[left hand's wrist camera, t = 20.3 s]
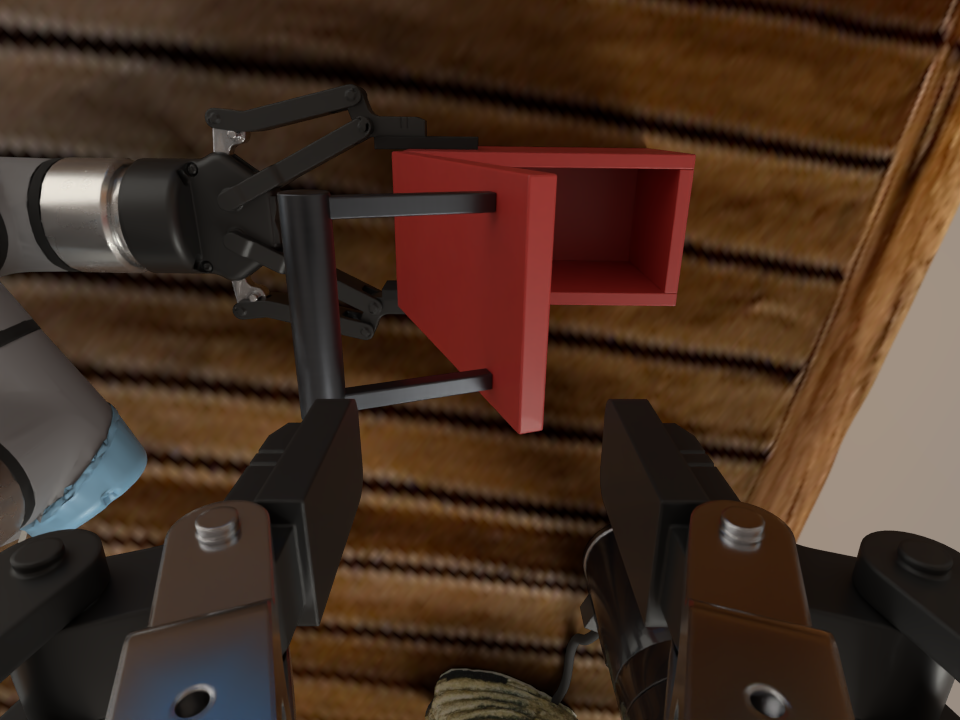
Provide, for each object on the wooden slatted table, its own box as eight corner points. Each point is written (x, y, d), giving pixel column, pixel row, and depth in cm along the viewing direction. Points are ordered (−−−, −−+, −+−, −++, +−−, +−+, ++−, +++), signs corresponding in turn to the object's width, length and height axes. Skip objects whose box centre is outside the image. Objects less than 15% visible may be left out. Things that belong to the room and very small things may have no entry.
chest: (648, 148, 44) (696, 154, 35) (634, 268, 48) (675, 306, 38) (418, 145, 44) (401, 150, 34) (421, 266, 48) (406, 303, 38)
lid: (558, 173, 19) (281, 178, 16) (543, 430, 22) (313, 473, 19) (408, 150, 34) (254, 151, 31) (413, 304, 37) (274, 318, 35)
